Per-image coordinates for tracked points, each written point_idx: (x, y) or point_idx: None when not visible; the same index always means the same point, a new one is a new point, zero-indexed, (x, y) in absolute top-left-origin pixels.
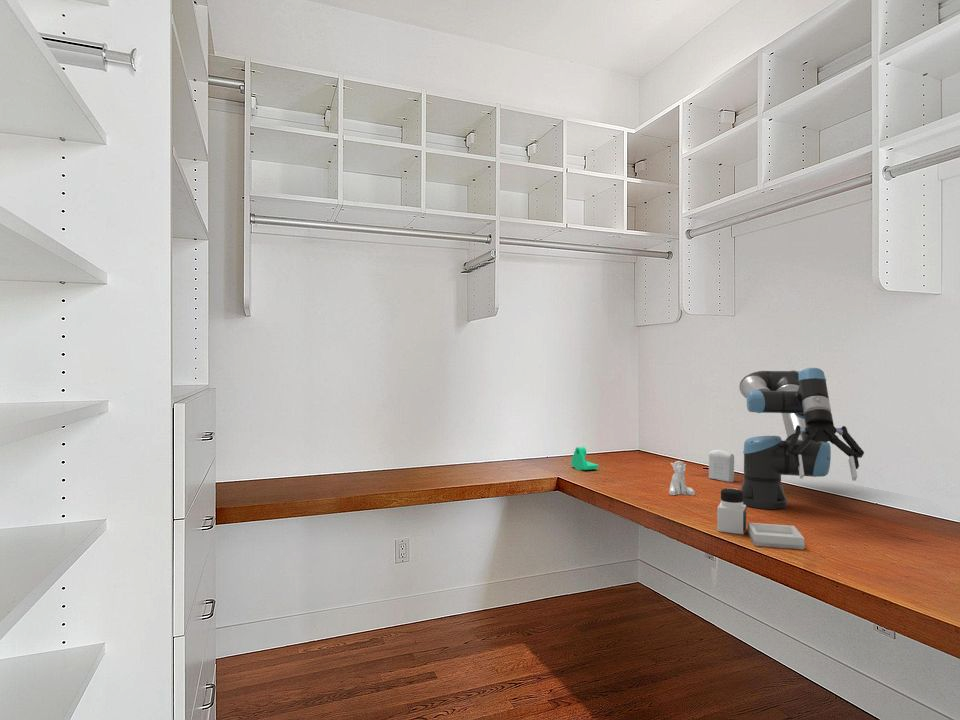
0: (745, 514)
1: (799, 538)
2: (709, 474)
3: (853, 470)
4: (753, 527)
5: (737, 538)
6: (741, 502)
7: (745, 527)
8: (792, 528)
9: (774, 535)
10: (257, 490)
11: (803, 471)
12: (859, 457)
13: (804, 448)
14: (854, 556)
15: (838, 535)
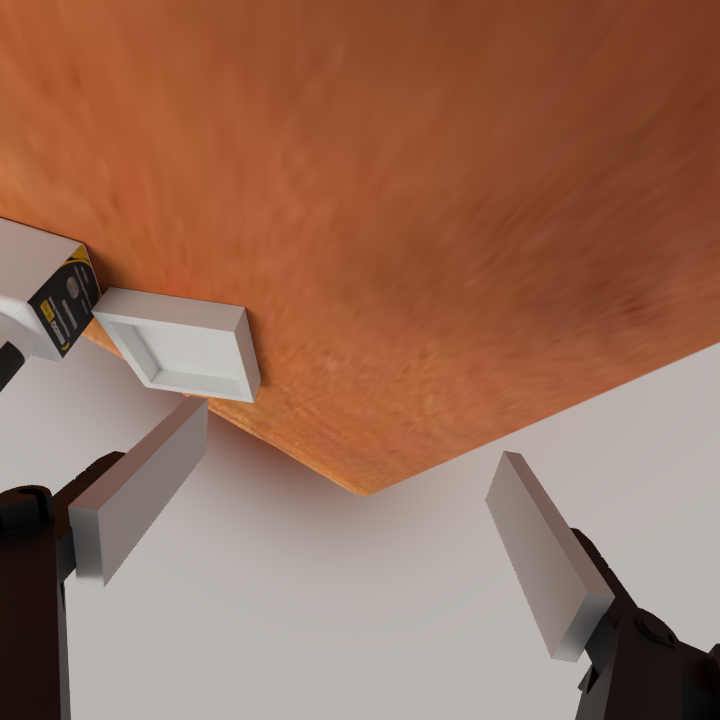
0: (59, 307)
1: (243, 399)
2: None
3: (500, 534)
4: (125, 348)
5: None
6: (25, 361)
7: (87, 275)
8: (229, 352)
9: (188, 391)
10: None
11: (193, 467)
12: (714, 646)
13: (62, 674)
14: (353, 403)
15: (391, 288)
